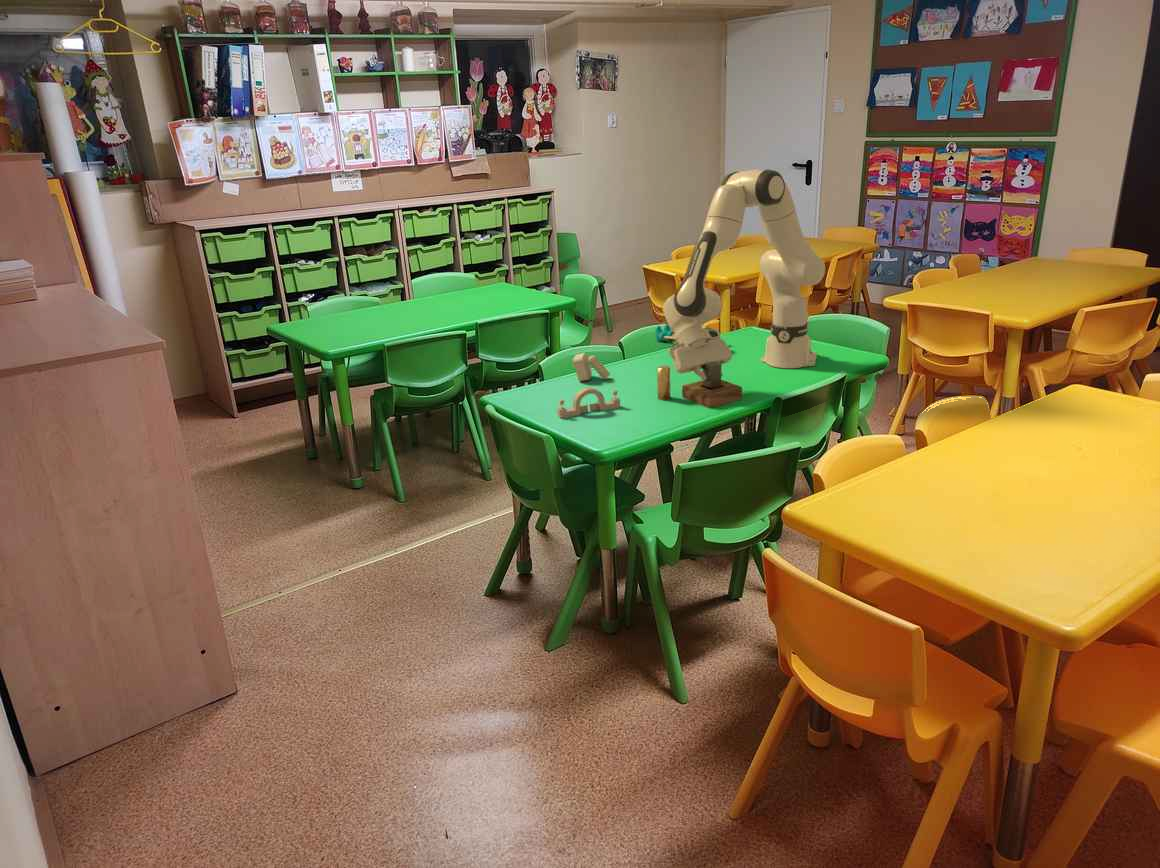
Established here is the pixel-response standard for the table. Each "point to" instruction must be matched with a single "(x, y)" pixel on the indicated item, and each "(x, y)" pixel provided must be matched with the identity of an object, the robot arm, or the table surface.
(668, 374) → the cylinder
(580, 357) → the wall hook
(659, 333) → the toy
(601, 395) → the gateway
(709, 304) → the robot arm
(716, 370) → the steel square bit
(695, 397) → the walnut bore block
